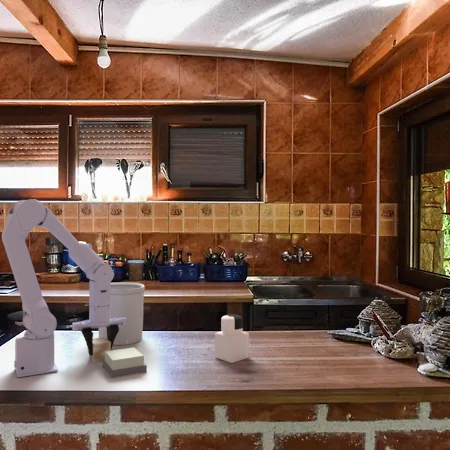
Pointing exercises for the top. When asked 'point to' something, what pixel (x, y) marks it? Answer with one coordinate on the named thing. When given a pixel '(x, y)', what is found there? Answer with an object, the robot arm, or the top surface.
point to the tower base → (124, 370)
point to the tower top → (124, 358)
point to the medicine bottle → (231, 340)
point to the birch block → (100, 349)
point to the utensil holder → (126, 311)
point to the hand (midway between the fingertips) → (99, 353)
